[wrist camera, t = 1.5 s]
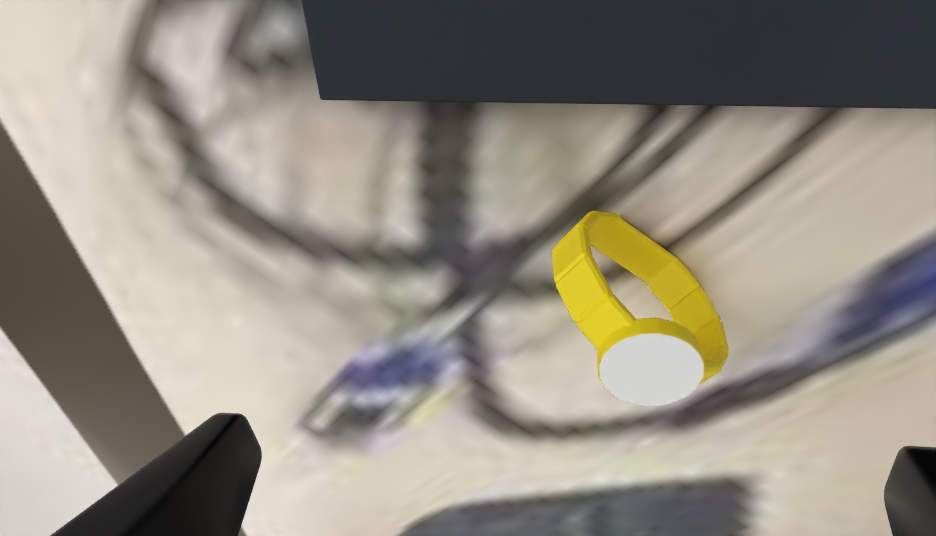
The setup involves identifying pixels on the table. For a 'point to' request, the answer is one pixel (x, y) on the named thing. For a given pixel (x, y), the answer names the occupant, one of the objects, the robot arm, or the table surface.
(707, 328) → the watch
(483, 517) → the table surface
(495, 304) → the table surface
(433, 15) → the dark rectangular board
